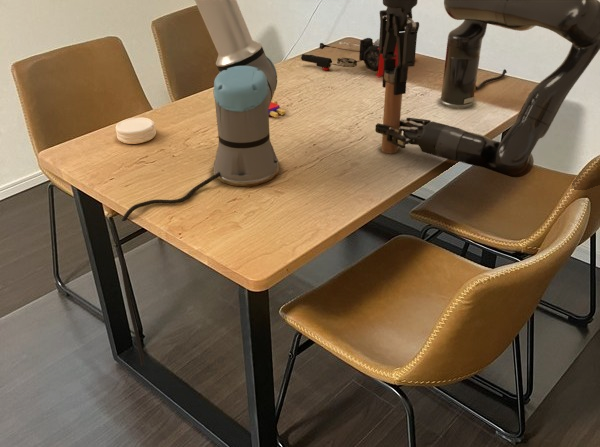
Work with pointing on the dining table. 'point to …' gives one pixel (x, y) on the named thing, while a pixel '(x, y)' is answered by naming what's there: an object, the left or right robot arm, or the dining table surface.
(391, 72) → the lid
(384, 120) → the brown capped cylinder
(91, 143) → the dining table surface
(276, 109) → the toy figure
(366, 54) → the electric hoist
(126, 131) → the coaster
